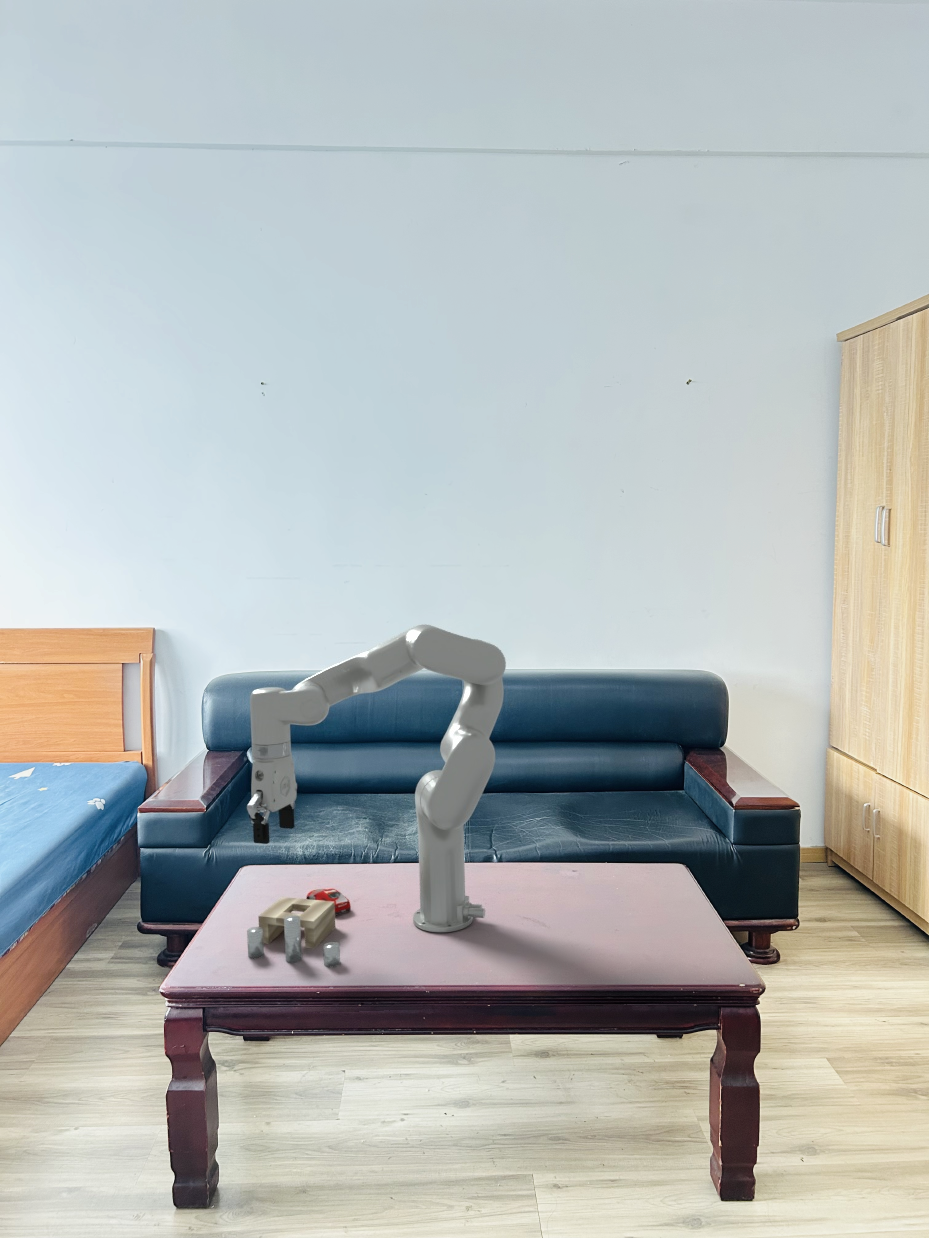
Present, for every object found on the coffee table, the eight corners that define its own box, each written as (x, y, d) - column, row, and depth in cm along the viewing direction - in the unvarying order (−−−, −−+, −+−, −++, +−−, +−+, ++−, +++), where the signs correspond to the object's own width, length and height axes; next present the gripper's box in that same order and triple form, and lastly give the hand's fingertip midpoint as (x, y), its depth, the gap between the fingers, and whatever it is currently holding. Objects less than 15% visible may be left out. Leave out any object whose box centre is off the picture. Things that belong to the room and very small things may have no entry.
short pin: (342, 960, 165) (342, 942, 165) (336, 967, 162) (335, 949, 162) (328, 959, 166) (327, 941, 165) (321, 966, 163) (320, 948, 163)
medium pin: (266, 952, 169) (265, 927, 169) (259, 959, 166) (258, 933, 166) (253, 950, 170) (251, 926, 170) (245, 957, 167) (244, 932, 167)
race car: (302, 902, 195) (302, 884, 194) (324, 896, 198) (323, 879, 198) (332, 920, 184) (331, 901, 184) (354, 913, 187) (353, 895, 187)
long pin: (304, 956, 167) (302, 915, 166) (297, 963, 164) (295, 922, 164) (290, 954, 168) (288, 914, 167) (282, 961, 165) (281, 920, 164)
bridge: (335, 927, 180) (334, 901, 179) (314, 948, 170) (313, 921, 170) (282, 922, 183) (281, 896, 183) (259, 942, 173) (258, 915, 173)
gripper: (265, 761, 162) (268, 850, 163) (309, 742, 178) (312, 823, 179) (230, 759, 164) (233, 847, 165) (277, 740, 181) (280, 821, 182)
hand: (274, 835), depth 172 cm, fingers open, 9 cm apart
